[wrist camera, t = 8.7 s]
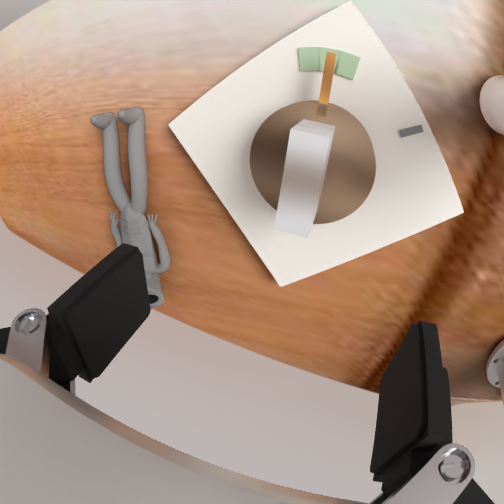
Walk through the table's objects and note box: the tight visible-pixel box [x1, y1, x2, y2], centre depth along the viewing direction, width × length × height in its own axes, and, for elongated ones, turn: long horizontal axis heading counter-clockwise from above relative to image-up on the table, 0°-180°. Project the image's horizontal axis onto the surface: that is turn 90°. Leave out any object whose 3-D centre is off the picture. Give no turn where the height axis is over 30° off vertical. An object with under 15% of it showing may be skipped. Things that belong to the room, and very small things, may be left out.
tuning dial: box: [250, 52, 376, 238], centre depth 21 cm, size 14×10×7 cm
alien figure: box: [91, 107, 171, 309], centre depth 35 cm, size 8×5×25 cm
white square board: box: [168, 1, 464, 287], centre depth 26 cm, size 20×20×2 cm
